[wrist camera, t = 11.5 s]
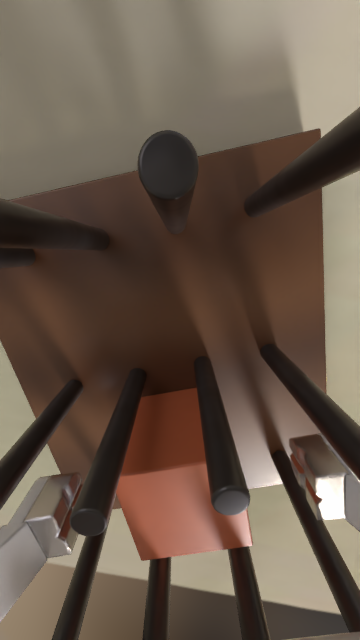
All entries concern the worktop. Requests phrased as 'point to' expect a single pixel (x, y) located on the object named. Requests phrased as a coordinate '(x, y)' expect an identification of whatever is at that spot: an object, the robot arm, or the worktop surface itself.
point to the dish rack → (180, 336)
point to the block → (173, 483)
